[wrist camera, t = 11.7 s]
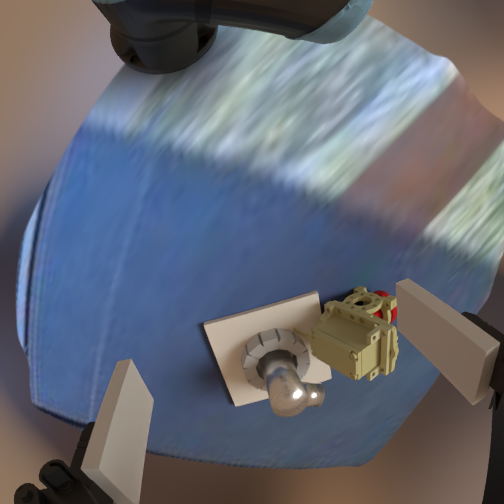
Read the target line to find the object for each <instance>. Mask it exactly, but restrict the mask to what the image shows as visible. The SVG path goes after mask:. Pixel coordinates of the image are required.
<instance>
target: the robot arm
mask: <svg viewBox="0 0 504 504" xmlns="http://www.w3.org/2000/svg"><path fill="white" fill-rule="evenodd" d="M373 1H374V0H92V2H93V3H94V4H95V5H96V6H97V8H98V9H99V10H100V11H101V13H103V15H104V16H105V17H106V18H107V20H108V21H109V22H110V24H111V27H110V37H111V42H112V46H113V48H114V50H115V52H116V53H117V55H118V56H119V57H120V58H121V59H122V61H124V63H125V64H127V65H128V66H129V67H131V68H133V69H135V70H137V71H140V72H143V73H149V74H166V73H171V72H175V71H178V70H181V69H184V68H186V67H188V66H190V65H192V64H193V63H195V62H196V61H198V60H199V59H200V58H201V57H202V56H203V55H204V54H205V53H206V52H207V51H208V50H209V49H210V47H211V46H212V44H213V42H214V40H215V38H216V35H217V31H218V25H222V26H230V27H238V28H244V29H251V30H257V31H263V32H268V33H273V34H278V35H283V36H285V37H286V38H288V39H291V40H305V41H310V42H315V43H319V44H327V43H334V42H337V41H340V40H341V39H343V38H345V37H346V36H348V35H349V34H350V33H351V32H352V31H353V30H354V29H355V28H356V27H357V26H358V25H359V24H360V23H361V21H362V20H363V19H364V17H365V16H366V14H367V13H368V11H369V9H370V7H371V5H372V3H373ZM396 298H397V329H398V330H399V331H400V332H401V333H402V334H403V335H404V336H405V337H406V338H407V339H408V340H409V341H410V342H411V343H412V344H413V345H414V346H415V347H416V348H417V349H418V350H419V351H420V352H421V353H422V354H423V355H424V356H425V357H426V358H427V359H428V360H429V361H430V362H431V363H432V364H433V365H434V366H435V367H436V368H437V369H438V370H439V371H440V372H441V373H442V374H443V375H444V376H445V377H446V378H447V379H448V380H449V381H450V382H451V383H452V384H453V385H454V386H455V387H456V388H457V389H458V390H459V391H460V392H461V393H462V394H463V396H464V397H465V398H466V399H467V400H468V401H469V402H470V403H471V404H472V405H474V404H476V403H477V402H479V401H480V400H482V399H483V398H485V397H486V395H487V392H488V389H489V386H490V387H492V388H493V389H494V393H493V396H492V400H491V403H490V406H489V409H491V407H492V405H493V415H492V433H491V446H490V457H489V464H488V472H487V479H486V485H485V490H484V496H483V501H482V504H504V334H502V333H501V332H499V331H498V330H497V329H495V328H494V327H492V326H491V325H490V326H489V324H488V323H487V322H485V321H483V320H482V319H481V318H479V317H478V316H476V315H475V314H471V313H468V312H463V313H461V314H460V313H458V312H457V311H456V310H454V309H453V308H451V307H450V306H448V305H447V304H445V303H444V302H443V301H441V300H440V299H438V298H437V297H435V296H434V295H432V294H431V293H429V292H428V291H426V290H425V289H423V288H422V287H420V286H419V285H417V284H416V283H414V282H413V281H411V280H410V279H405V280H402V281H400V282H397V283H396ZM153 402H154V400H153V398H152V396H151V394H150V393H149V391H148V389H147V387H146V385H145V384H144V382H143V380H142V378H141V376H140V374H139V373H138V371H137V369H136V367H135V365H134V363H133V361H132V359H127V360H122V361H118V362H117V364H116V367H115V369H114V372H113V375H112V377H111V380H110V383H109V385H108V388H107V391H106V394H105V396H104V399H103V402H102V405H101V408H100V410H99V413H98V416H97V419H96V422H89V423H88V424H87V426H86V427H85V428H84V430H83V431H82V434H81V436H80V441H79V442H78V445H77V449H76V451H75V454H74V457H73V460H72V463H71V466H70V468H69V467H68V466H67V465H66V464H65V463H64V462H63V461H62V460H59V459H58V460H52V461H49V462H47V463H46V464H45V465H44V466H43V467H42V468H41V470H40V473H39V480H40V481H41V482H42V483H43V484H44V485H45V486H46V487H47V489H42V490H39V489H38V488H37V487H36V486H35V485H34V484H31V483H25V484H23V485H21V486H20V487H19V488H18V489H17V490H16V492H15V495H14V504H113V501H114V502H115V503H117V504H139V499H140V490H141V481H142V474H143V466H144V459H145V452H146V445H147V439H148V432H149V426H150V420H151V414H152V408H153Z"/></svg>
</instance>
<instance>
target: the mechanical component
mask: <svg viewBox="0 0 504 504" xmlns="http://www.w3.org/2000/svg"><path fill="white" fill-rule="evenodd" d="M353 290H354V294H352V295H350V296H348V297H346V298H345V300H344V301H343V302H339V301H336V300H334V301H329V302H327V303H326V304H324V308H325V310H324V313H323V314H322V315H321V316H320V317H319V318H318V323H319V325H317V326H315V328H312V329H311V332H310V333H309V334H305V333H303V332H302V331H300V330H298V329H296V328H295V327H293V331H295V332H297V333H298V334H300V335H302V336H303V337H305V339H307V340H308V341H309V342H310V346H311V350H312V355H313V356H314V357H315V356H316V358H317V359H319V360H320V361H322V362H324V363H325V364H327V365H329V366H330V367H332V368H334V369H335V370H337V371H339V372H340V373H342V374H344V375H345V376H347V377H349V378H352V379H353V380H355V379H357V380H359V379H360V378H361V377H363V376H364V375H365V374H366V379H368V380H370V381H371V380H372V379H373V378H374V377H376V376H377V375H378V374H379V373H381V374H383V375H385V376H386V375H387V374H388V373H390V372H392V371H393V370H394V367H395V361H396V360H397V355H398V351H399V349H398V347H397V346H398V342H396V341H397V340H398V335H397V329H396V328H395V327H394V326H393V325H391V324H390V323H391V322H393V321H394V320H395V318H396V316H397V298H396V297H394V296H391V295H389V294H387V293H386V292H384V291H375V292H374V293H371V292H367V290H366V287H363V286H360V287H357V288H355V289H353ZM358 301H363V306H357V305H355V304H354V303H356V302H358Z"/></svg>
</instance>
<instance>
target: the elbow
mask: <svg viewBox="0 0 504 504" xmlns="http://www.w3.org/2000/svg"><path fill="white" fill-rule="evenodd" d="M259 362H260V366H261V369H262V373H263V377H264V381H265V384H266V388H267V392H268V396H269V399H270V403H271V407H272V410H273V412H274V413H275V414H276V415H278V416H282V417H290V416H294V415H297V414H299V413H300V412H302V411H303V410H304V409H305V408H306V406H307V407H319V406H321V404H322V403H323V400H324V396H325V390H324V386H323V385H322V384H321V383H309V382H301V380H300V377H299V375H298V373H297V370H296V368H295V365H294V363H293V361H292V358H291V356H290V354H289V351H288V350H282V349H277V350H273V351H270V352H267V353H266V354H265V355H264V356H262V357H261V358H260V359H259Z"/></svg>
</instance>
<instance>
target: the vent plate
mask: <svg viewBox="0 0 504 504" xmlns="http://www.w3.org/2000/svg"><path fill="white" fill-rule="evenodd" d="M321 315H322V314H321V308H320V302H319V296H318V292H317V291H316V290H315V291H312V292H309V293H306V294H302V295H299V296H296V297H292V298H289V299H286V300H282V301H279V302H275V303H272V304H268V305H265V306H261V307H258V308H254V309H251V310H247V311H244V312H240V313H236V314H233V315H229V316H225V317H222V318H218V319H214V320H210V321H207V322H204V328H205V330H206V333H207V336H208V338H209V341H210V344H211V346H212V349H213V352H214V354H215V357H216V359H217V362H218V365H219V367H220V370H221V372H222V375H223V377H224V380H225V382H226V385H227V387H228V390H229V392H230V394H231V397H232V399H233V402H234V404H235V406H240V405H244V404H248V403H252V402H256V401H260V400H263V399H267V398H269V396H268V392H267V388H266V384H265V381H264V377H263V373H262V369H261V366H260V362H259V359H260V358H261V357H262V356H264V355H265V354H266V353H267V352H270V351H273V350H277V349H282V350H288V351H289V354H290V356H291V358H292V361H293V363H294V365H295V368H296V370H297V373H298V375H299V377H300V380H301V382H309V383H320V382H323V381H326V380H329V379H331V371H330V366H329V365H327V364H325V363H324V362H322V361H320V360H319V359H317V358H316V356H315V357H314V356H313V355H312V350H311V346H310V342H309V341H308V340H307V339H305V337H303V336H302V335H300V334H298V333H297V332H295V331H293V327H295V328H296V329H298V330H300V331H302V332H303V333H305V334H309V333H310V332H311V329H312V328H315V326H317V325H319V323H318V318H319V317H320V316H321Z"/></svg>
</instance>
